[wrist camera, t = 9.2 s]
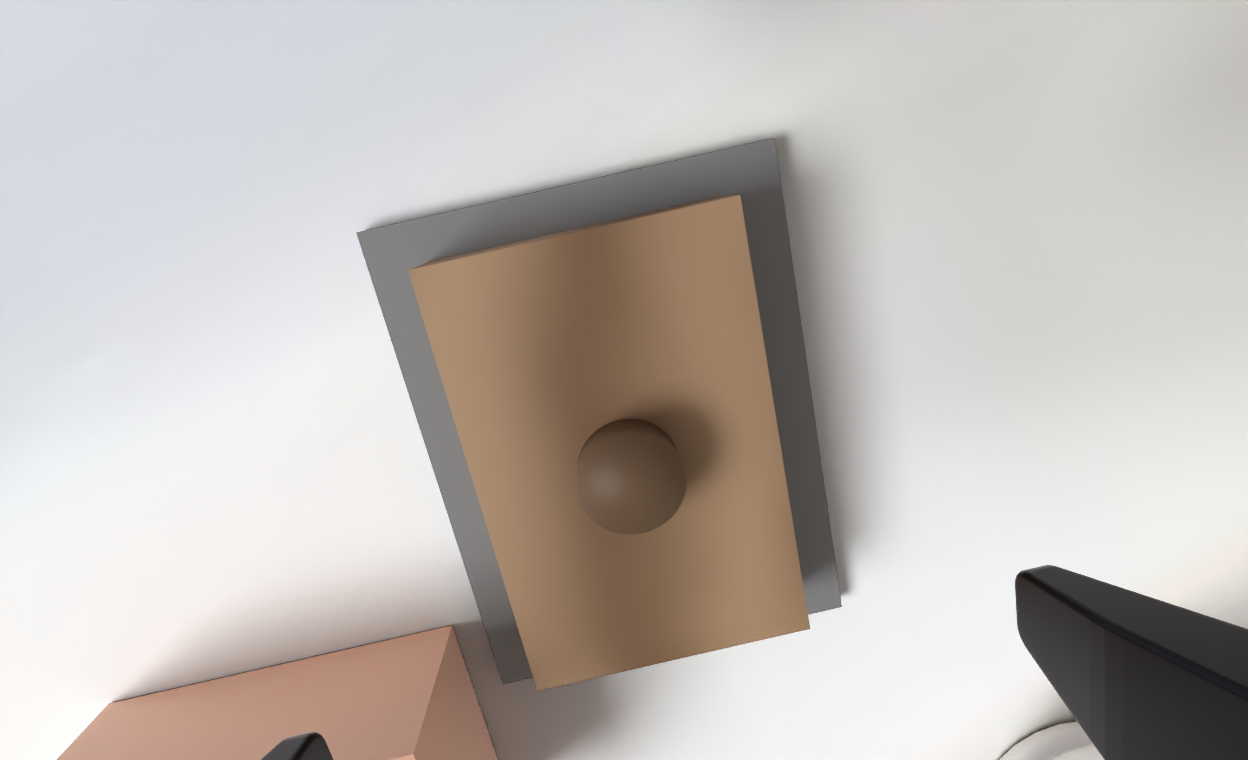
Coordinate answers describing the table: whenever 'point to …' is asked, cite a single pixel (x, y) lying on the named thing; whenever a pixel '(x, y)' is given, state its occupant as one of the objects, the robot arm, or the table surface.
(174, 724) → the dish
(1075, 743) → the flower vase
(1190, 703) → the robot arm
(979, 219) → the table surface
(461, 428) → the lid
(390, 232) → the mat
